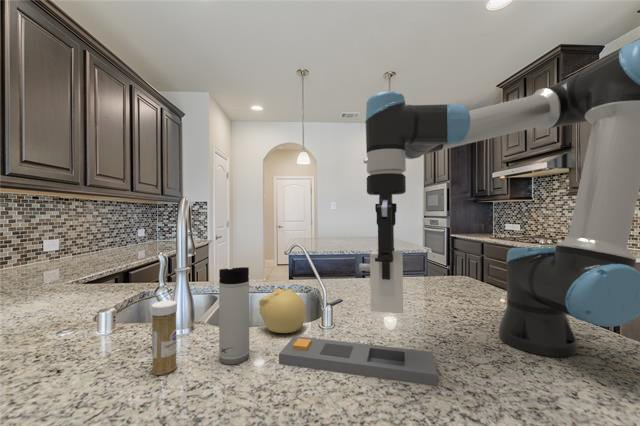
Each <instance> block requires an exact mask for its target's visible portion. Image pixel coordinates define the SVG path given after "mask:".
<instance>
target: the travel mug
mask: <svg viewBox="0 0 640 426" xmlns="http://www.w3.org/2000/svg"><path fill="white" fill-rule="evenodd" d="M249 271H250V267H249V266H247V267H244V266H243V267H233V268H230V269H229V268H222V269H219V275H218V276H219V277H218V278H219V280H218V284H219V286H218V302H219V303H218V332H219V333H218V334H219V335H218V336H219V337H218V344H219V346H218V347H219V349H218V352H219V354H218V355H219V356H218V357H219V358H218V359H219V361H220V362H221V363H222V364H223V365H237V364H241V363H243V362H245V361H246V360H248V359H249V357H250V277H249V276H250V275H249V274H250V272H249Z"/></svg>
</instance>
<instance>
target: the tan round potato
mask: <svg viewBox="0 0 640 426" xmlns="http://www.w3.org/2000/svg"><path fill="white" fill-rule="evenodd" d="M258 305H259V310H258V311H259V315H260V317H261V319H262V321H263V323H264V325H265V327H266V329H267V330H269V331H270V332H273V333H279V334H289V333H295V332H297V331H298V330H301V328H302V326H303V325H304V324H305V321H306V316H307V309H306V304H305V302H304V300H303V298H302V297H301V296H300V295H299V294H298V293H297V291H295V290H293V289H292V288H291V289H283V288H276V289H274V290H273V291H272V292H271V293H270V294H267V295H266V296H263V297H261V298H260V299H259V301H258Z"/></svg>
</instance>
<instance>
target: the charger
mask: <svg viewBox="0 0 640 426" xmlns="http://www.w3.org/2000/svg"><path fill="white" fill-rule="evenodd" d="M369 257H370V258H369V263H361V262H360V263H359V264H358V269H359V270H358V271H367V272H369V273H370V274H369V276H370V282H369V283H370V311H371V312H376V313H389V314H390V313H391V314H400V315H401V314H402V315H403V314H404V277H403V276H404V275H403V274H404V272H403V271H404V270H403V269H404V264H403V263H404V262H403V261H404V259H403V251H401V250H400V251H398V250H394V251H393V261H394V297H387V296H379V262H375V258H378V250H372V251H371V252H370V253H369Z"/></svg>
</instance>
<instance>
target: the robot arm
mask: <svg viewBox="0 0 640 426" xmlns="http://www.w3.org/2000/svg"><path fill="white" fill-rule="evenodd" d="M365 112H366V113H365V123H364V124H365V143H366V145H365V146H366V147H365V149H366V157H367V158H364V159H363V163H364V164H366V173H367V174H368V176H367V177H366V193H367V195H370V196H378V203H375V206H374V210H375V213H376V226H377V251H378V258H375V262H379V296H387V297H394V261H393V251H396V250H395V244H394V243H395V241H394V239H395V238H394V237H395V236H394V235H395V234H394V233H395V232H394V228H395V225H396V219H397V218H396V213H397V208H398V207H397V205H398V204H397V203H394V202H393V195H403V194H406V187H407V186H406V184H407V183H406V179H407V177H406V176H405V174H403V173H405V172H406V171H407V170H406V169H407V168H406V166H407V164H406V163H407V162H406V160H407V159H408V160H413V159H418V158H421V157H422V156H425V155H427V154H432V153H435V152H439V151H443V150H447V149H451V148H456V147H460V146H465V145H468V144H472V143H476V142H480V141H485V140H488V139H494V138H497V137H502V136H505V135H509V134H515V133H519V132H523V131H526V130H531V129H534V128H537V129H539V130H543V131H544V130H548V129H553V128H557V127H563V126H570V125H575V124H581V123H587V122H588V123H589V124H591V130H590V135H589V140H588V144H587V148H586V153H585V157H584V161H583V167H582V170H581V171H582V172H581V176H580V180H579V185H578V190H577V194H576V197H575V202H574V208H573V211H572V212H573V213H572V217H571V222H570V226H569V230H568V235H567V237H566V238H565V239H563V240H561V241H560V242H558V243H557V244H556V246H555V247H553V246H552V247H549V246H547V247H542V246H541V247H512V248H510V249H508V251H507V255H506V262H505V265H506V308H505V310H504V313H503V316H502V318H501V320H500V323H499V327H498V338H500V340H501V341H502V342H503V343H505V344H507V345H508V346H510V347H513V348H515V349H518V350H519V351H520V350H521V351H523V352H526V353H527V352H528V353H531V354H534V355H540V356H546V357H555V358H557V357H558V358H564V357H565V358H567V357H571V356H574V355H576V354H577V351H578V346H577V338H576V336H575V334H574V331H573V329H572V327H571V323H570V321H569V318H568V316H567V314H568V315H570V316H572V317H574V318H575V319H576V320H579V321H583V322H585V323H591V324H593V325H596V326H599V327H604V328H605V327H607V328H612V327H620V326H623V325H626V324H627V323H628V322H630V321H631V322H632V321H634V320H635V319H637V317H639V316H640V271H638V270H637V269H635V267H636V263H637V258H636V256H635V255H634V254H633V253H632V252H631V251H630V250H629V249H628V243H629V239H630V233H631V230H632V225H633V220H634V215H635V212H636V207H637V201H638V196H639V194H640V38H639V39H637V40H635V41H633V42H629V43H626V44H625V45H624V46H622V48H620V49H619V50H618V51H616V52H613V53H611V54H609V55H608V56H606V57H604V58H602V59H600V60H599V61H597V62H594V63H593V64H591V65H588V66H587V67H586V68H584V69H582V70H580V71H578V72H576V73H575V74H573V75H571V76H569V77H567V78H565V79H563V80H562V81H560V82H557V83H556V84H553V85H551V86H547V87H542V88H539V89H537V90H536V91H535V92H534V93H533V94H531V95H528V96H525V97H521V98H516V99H513V100H508V101H504V102H500V103H497V104H493V105H492V104H491V105H489V106H484V107H479V108H475V109H471V110H469V109H468V108H467V106H466V105H463V104H451V103H446V104H406V101H405V96H404V95H403V94H402V93H401V92H398V91H397V92H396V91H391V90H387V91H386V90H385V91H381V92H377V93H375V94H372V95H371V96H370V97H369V98H368V99H367V101H366V109H365Z"/></svg>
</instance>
